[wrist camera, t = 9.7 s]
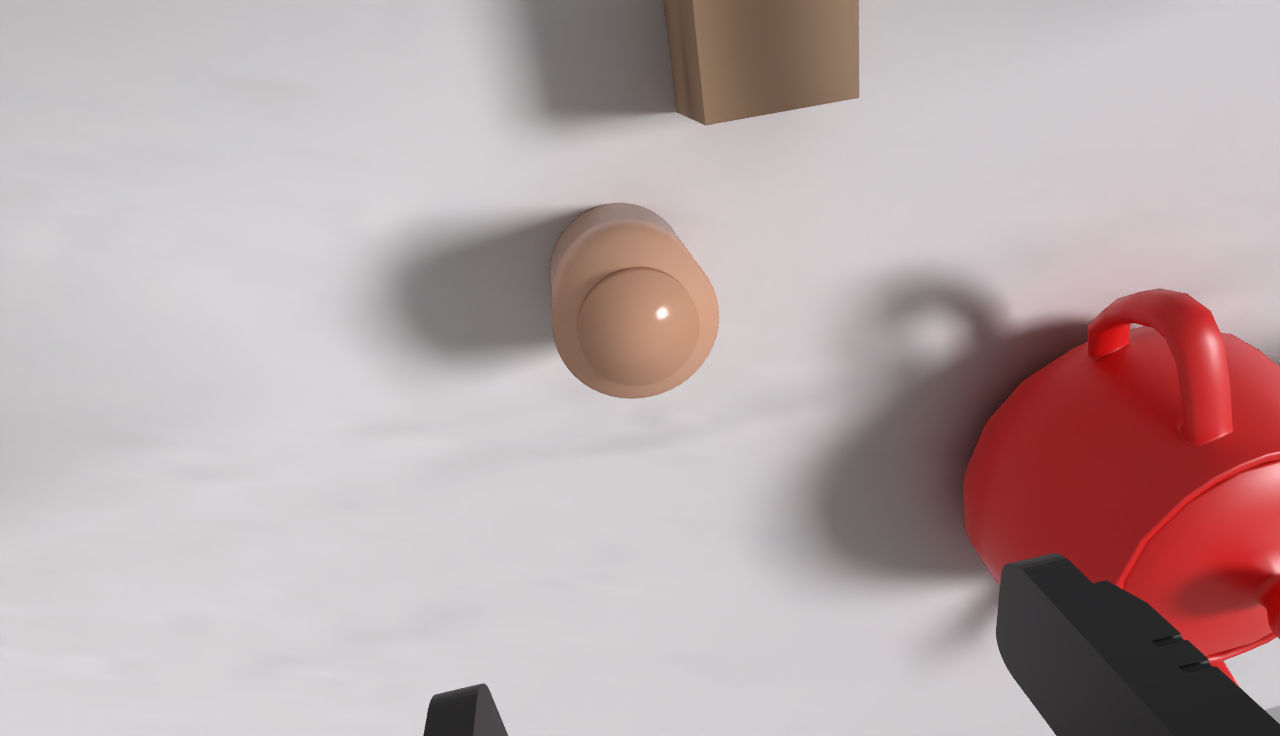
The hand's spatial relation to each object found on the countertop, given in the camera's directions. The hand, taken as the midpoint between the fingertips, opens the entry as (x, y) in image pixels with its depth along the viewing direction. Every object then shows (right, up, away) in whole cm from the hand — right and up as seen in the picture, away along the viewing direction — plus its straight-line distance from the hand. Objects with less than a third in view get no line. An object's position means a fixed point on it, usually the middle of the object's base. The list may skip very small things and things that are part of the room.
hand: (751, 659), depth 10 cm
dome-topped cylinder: (-3, +8, +17) cm, 20 cm away
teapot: (+21, 0, +25) cm, 33 cm away
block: (+2, +17, +14) cm, 22 cm away
